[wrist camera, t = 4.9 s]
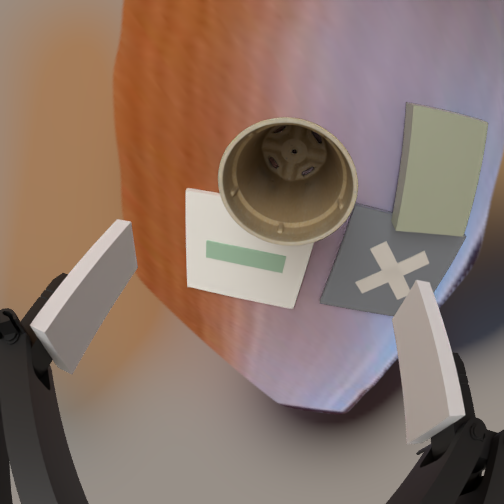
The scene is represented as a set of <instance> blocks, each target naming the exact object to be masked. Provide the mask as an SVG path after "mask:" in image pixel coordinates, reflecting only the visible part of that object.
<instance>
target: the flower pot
mask: <svg viewBox="0 0 504 504" xmlns="http://www.w3.org/2000/svg"><path fill="white" fill-rule="evenodd" d="M282 126H285V127H286V128H284V129H283V130H282V132H281V131H279V132H277V133H275V132H274V131H275V130H277V129H278V128H280V127H282ZM313 131H314V132H316V133H318V134H319V136H320V137H321V140H322V141H321V143H318V141H317V139H316V138H315V137H314V135H313V134H312V132H313ZM293 149H295V150H296V151H297V152H296V153H295V154H293V153H292V150H293ZM270 157H272V158H273V159H274V160H275V162H276V163H277V165H279V166H278V167H277V168H274V167H273V166H272V164H271V162H270V161H269V158H270ZM311 167H314V169H313V170H312V171H311V172H310V173H308V174H306V175H302V172H303V171H305V170H308V169H309V168H311ZM218 186H219V192H220V196H221V199H222V202H223V204H224V206H225V208H226V210H227V212H228V213H229V214H230V216H231V217H232V218H233V220H234V221H235V222H236V223H237V224H238V225H239V226H240V227H242V228H243V229H244V230H245V231H247V232H248V233H250V234H251V235H254V236H256V237H257V238H259V239H261V240H263V241H266V242H269V243H273V244H277V245H285V246H299V245H304V244H309V243H313V242H316V241H318V240H321V239H323V238H325V237H327V236H329V235H330V234H332V233H333V232H335V231H336V230H337V229H338V228H339V227H340V226H341V225H342V224H343V223H344V222H345V221H346V220H347V218H348V216H349V215H350V213H351V211H352V210H353V208H354V205H355V202H356V198H357V192H358V178H357V172H356V168H355V166H354V163H353V161H352V158H351V156H350V154H349V153H348V151H347V150H346V148H345V147H344V146H343V144H342V143H341V142H340V141H339V140H338V139H337V138H336V137H335V136H334V135H332V134H331V133H330V132H329V131H327V130H326V129H324V128H322V127H321V126H319V125H317V124H315V123H312V122H310V121H307V120H304V119H300V118H287V117H281V118H273V119H268V120H264V121H261V122H258V123H256V124H254V125H252V126H250V127H248V128H246V129H245V130H244V131H242V132H241V133H240V134H239V135H238V136H236V137H235V138H234V139H233V141H232V142H231V143H230V144H229V146H228V147H227V149H226V150H225V152H224V155H223V157H222V159H221V162H220V166H219V171H218Z"/></svg>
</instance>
